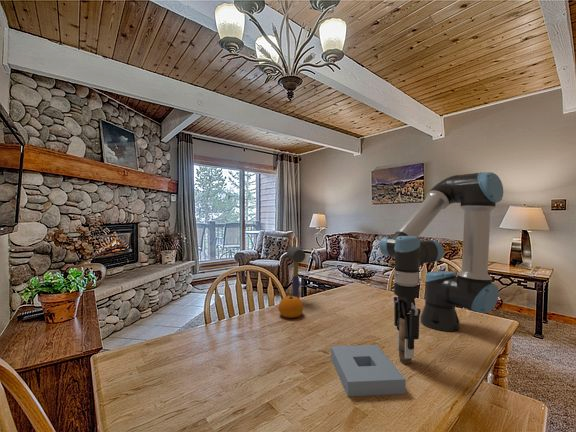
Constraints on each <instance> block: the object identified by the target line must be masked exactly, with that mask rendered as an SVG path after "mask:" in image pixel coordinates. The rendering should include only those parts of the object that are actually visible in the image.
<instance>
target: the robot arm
mask: <svg viewBox="0 0 576 432" xmlns="http://www.w3.org/2000/svg"><path fill="white" fill-rule="evenodd" d="M503 197H504V186H503V183H502V180H501V179H500V176H499V175H498V174H497V173H494V172H487V171H486V172H481V171H480V172H475V173H467V174H465V173H464V174H454V175H450V176H449V177H446V178H444V179H442V180H441V181H439V182H438V183H437V184H435V185H434V186H433V187H432V188H431V189H430V190H429V191H428V192H427V193H426V195H425V199H424V200H422V202H421V203H420V204H419V206H418V207H417V208H416V209H415V210H414V211H413V212H412V213H411V215H410V216H409V217H408V218H407V219H405V220H404V222H403V224H402V225H401V226H399V228H398V229H397V230H396V231H395V233H394V234H393V235H392V236H384V237H383V238H381V240H380V241H379V246H378V247H379V251H380V252H381V254H382V255H383V256H387V257H391V258H394V273H393V276H394V282H395V283H393V285H394V286H393V290H394V291H393V294H394V295H395V296H394V297H393V304H394V309H393V310H394V314H393V315H394V321H393V322H394V323H393V324H394V326H395V327H396V330H397V351H398V352H399V319H400V318H405V325H406V337H404V338H405V358H406V359H407V358H412V359H414V358H415V340H419V339H420V323H421V324H422V325H424V326H425V327H427V328H429V329H433V330H437V331H441V332H442V331H444V332H455V331H458V330H459V329H460V328H461V327H460V320H459V317H458V313H457V309H456V307H459V308H463V309H466V310H470V311H472V312H477V313H480V314H488V313H491V311H492V310H494V308H495V306H496V305H497V303H498V300H499V295H500V293H499V291H500V290H499V287H498V285H496V284H495V283H493V277H492V276H491V275H489V273H488V272H489V253H490V252H489V251H490V247H489V246H490V231H491V230H490V228H491V212H492V211H493V210H494V209H496V204H497V203H499V202H501V201H503ZM452 204H460V205H459V207H460V208H461V209H462V210H463V211H464V216H463V218H464V219H463V235H462V236H463V238H462V239H463V240H462V259H461V260H462V261H461V270H460V271H459V272H457V274H456V272H455V271H450V270H449V271H448V270H434V271H429V272H427V273H426V274H425V281H424V283H425V284H424V285H425V287H424V288H425V289H424V290H425V291H424V306H423V309H422V310H421V309H420V308H417V307H416V301H415V299H416V298H418V297H420V286H419V284H420V265H421V264H431V263H435V262H438V261H441V259H442V258H444V255H445V249H444V246H443V245H442V244H441V243H440V242H439V241H437V240H432V239H431V240H430V239H429V240H428V239H427V240H422V239H420V238H419V237H420V236H421V235H422V233H423V232H424V231H425V229H427V227H428V226H429V225H430V224H431V222H433V220H434V219H435V218H436V217H437V216H438V215H439V213H440V212H441V210H445V209H447V208H448V206H449V205H452ZM421 311H422V312H421Z"/></svg>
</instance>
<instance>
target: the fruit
mask: <svg viewBox="0 0 576 432" xmlns="http://www.w3.org/2000/svg"><path fill="white" fill-rule="evenodd" d="M278 311H279V313H280V315H281V316H283V317H284V318H287V319H288V318H289V319H294V318H298V317H300V316H302V314H303V312H304V304H303V302H302V300H301V299H300V297H299V298H298V297H295V296H293V294H290V295H288V296H285V297H283V298H282V299H281V300H280V302H279V303H278Z"/></svg>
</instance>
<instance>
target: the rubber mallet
mask: <svg viewBox="0 0 576 432" xmlns="http://www.w3.org/2000/svg"><path fill="white" fill-rule="evenodd" d="M286 255H287V257H288V258H289V259H290V260H291V261H293V270H292V271H293V274H292V279H291V281H292V282H291V287H292V296H295V297H298V298H299V299H300V295H299V294H300V277H299V263H302V262H303V261H304V260H305V259H306V253H305V251H304V250H303V249H301V248H300V247H297V246H290V247H288V249H287V250H286Z"/></svg>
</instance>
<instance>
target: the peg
mask: <svg viewBox="0 0 576 432" xmlns="http://www.w3.org/2000/svg"><path fill="white" fill-rule="evenodd" d="M404 337H406V325H405V318H400V319H399V351H398V358H399V362H400V364H403V365H407V366H408V365H411V364H412V360H413V358H407V359H406V358H405V338H404Z"/></svg>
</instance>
